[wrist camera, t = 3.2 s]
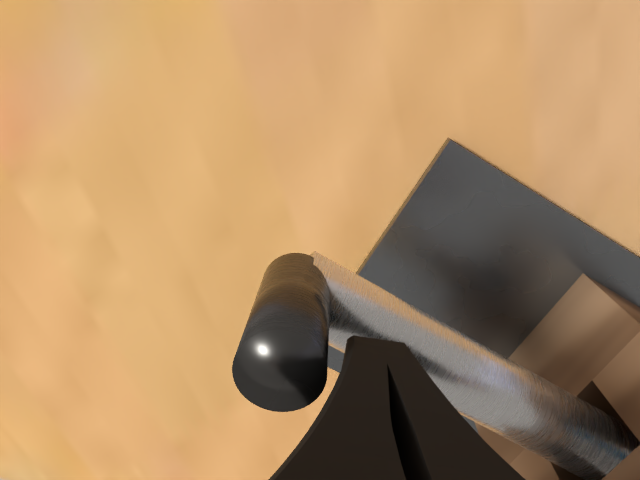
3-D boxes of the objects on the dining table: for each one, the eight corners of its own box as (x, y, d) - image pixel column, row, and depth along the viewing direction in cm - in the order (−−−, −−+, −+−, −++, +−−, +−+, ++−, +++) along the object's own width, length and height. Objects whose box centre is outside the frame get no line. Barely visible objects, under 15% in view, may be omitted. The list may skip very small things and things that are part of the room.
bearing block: (645, 311, 18) (832, 467, 11) (525, 434, 20) (620, 628, 13) (583, 272, 18) (738, 412, 11) (467, 403, 20) (534, 587, 13)
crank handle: (650, 426, 15) (781, 584, 10) (605, 468, 16) (710, 633, 11) (289, 224, 13) (261, 311, 9) (255, 281, 14) (214, 389, 9)
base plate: (774, 342, 19) (783, 347, 18) (597, 501, 22) (601, 508, 22) (447, 137, 17) (450, 139, 16) (304, 348, 20) (303, 354, 19)
